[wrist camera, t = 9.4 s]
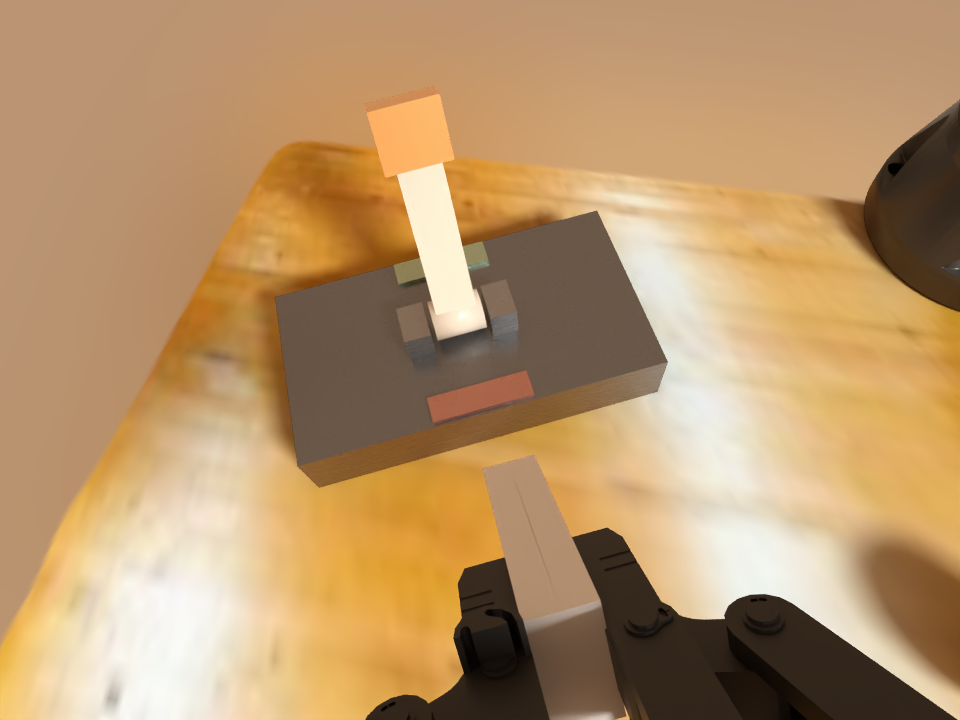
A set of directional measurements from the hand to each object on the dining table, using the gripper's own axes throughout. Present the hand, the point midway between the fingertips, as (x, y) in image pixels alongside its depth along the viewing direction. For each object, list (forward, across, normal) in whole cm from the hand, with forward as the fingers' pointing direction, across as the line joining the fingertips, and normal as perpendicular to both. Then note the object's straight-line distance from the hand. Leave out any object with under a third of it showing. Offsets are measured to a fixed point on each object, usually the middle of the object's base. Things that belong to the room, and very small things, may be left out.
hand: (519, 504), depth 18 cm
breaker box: (+26, 0, -3) cm, 26 cm away
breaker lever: (+22, 0, 0) cm, 22 cm away
